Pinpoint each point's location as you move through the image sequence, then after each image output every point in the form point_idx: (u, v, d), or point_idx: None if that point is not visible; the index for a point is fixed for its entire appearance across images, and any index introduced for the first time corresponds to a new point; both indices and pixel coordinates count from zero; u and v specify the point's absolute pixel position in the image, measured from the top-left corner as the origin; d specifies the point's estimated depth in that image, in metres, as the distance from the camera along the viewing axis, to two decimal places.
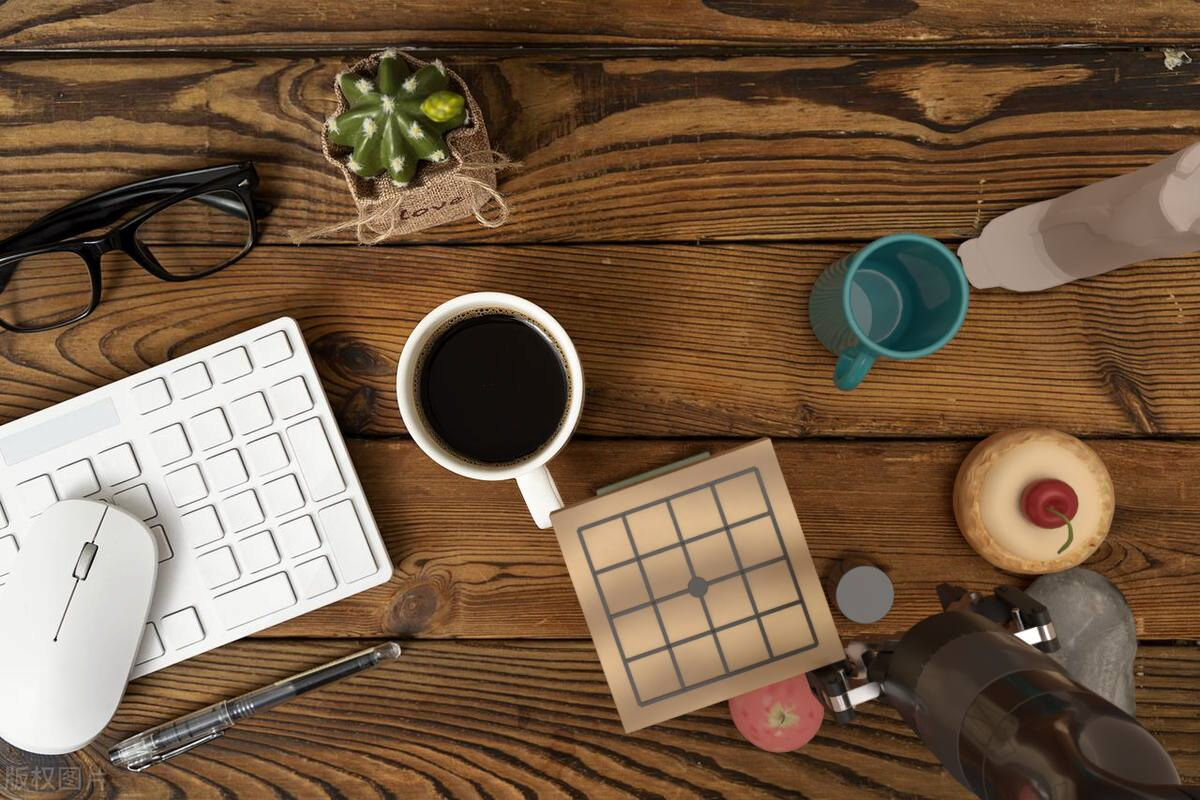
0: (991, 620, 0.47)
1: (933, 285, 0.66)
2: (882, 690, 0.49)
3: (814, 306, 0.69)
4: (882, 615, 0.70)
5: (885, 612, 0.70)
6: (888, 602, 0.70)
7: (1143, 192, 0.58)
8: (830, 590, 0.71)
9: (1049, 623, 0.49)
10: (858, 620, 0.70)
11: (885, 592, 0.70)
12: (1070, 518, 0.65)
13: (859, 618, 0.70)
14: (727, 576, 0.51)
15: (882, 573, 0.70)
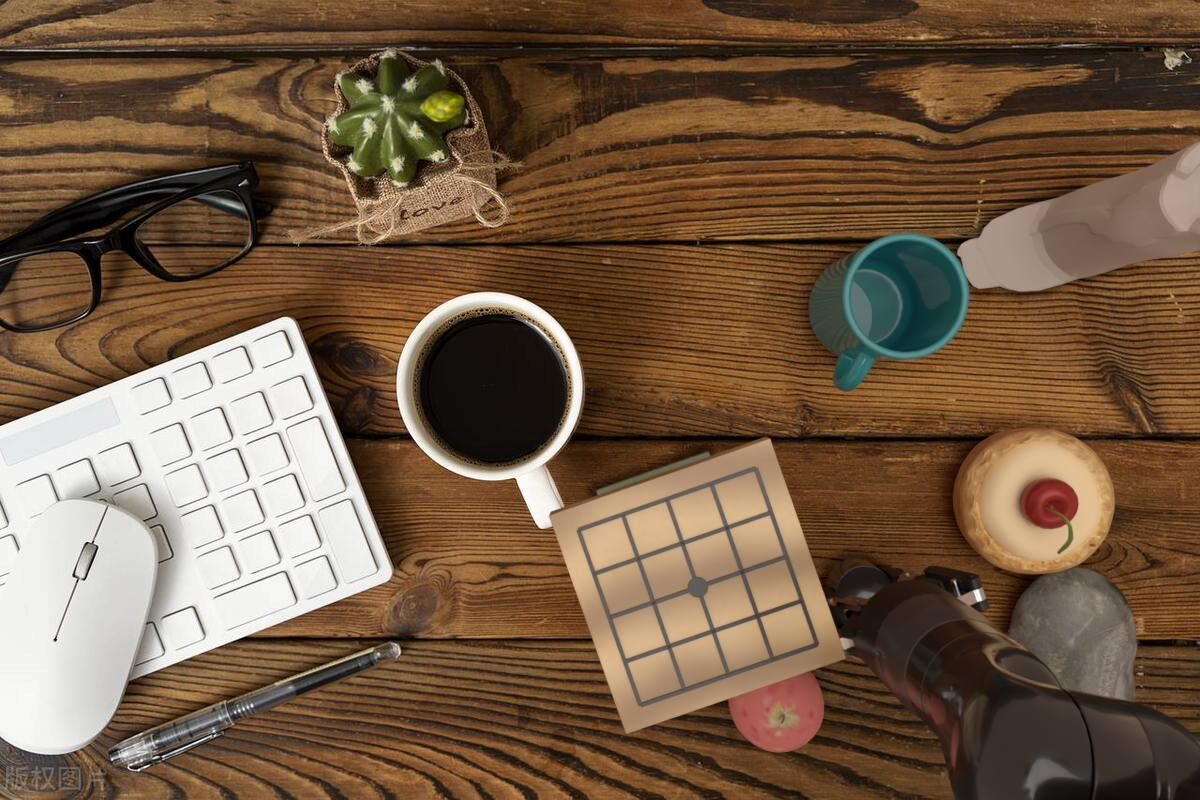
0: (939, 587, 0.58)
1: (933, 285, 0.66)
2: (853, 645, 0.61)
3: (814, 306, 0.69)
4: None
5: None
6: None
7: (1143, 192, 0.58)
8: None
9: (981, 586, 0.62)
10: None
11: None
12: (1070, 518, 0.65)
13: None
14: (727, 576, 0.51)
15: (882, 573, 0.70)
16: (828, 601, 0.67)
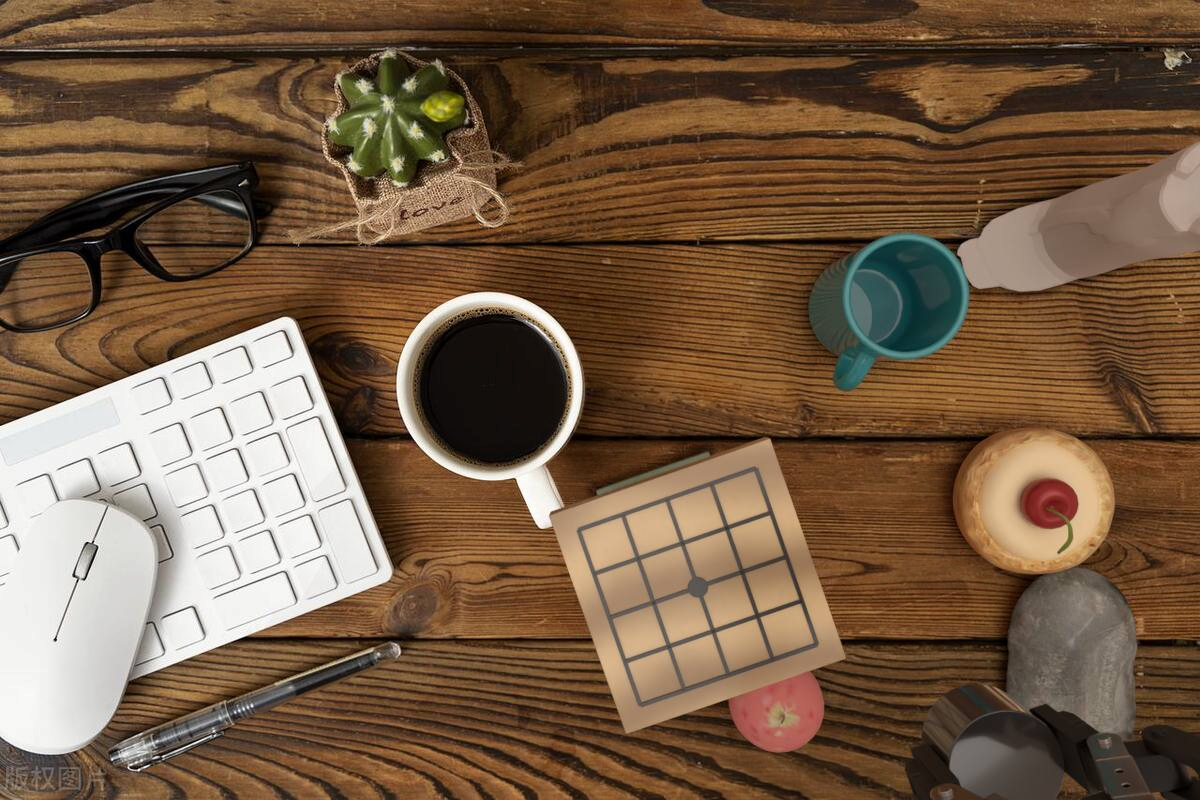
0: None
1: (933, 285, 0.66)
2: None
3: (814, 306, 0.69)
4: None
5: None
6: (1053, 784, 0.35)
7: (1143, 192, 0.58)
8: None
9: None
10: None
11: (1047, 764, 0.35)
12: (1070, 518, 0.65)
13: None
14: (727, 576, 0.51)
15: (1041, 726, 0.35)
16: (942, 795, 0.33)
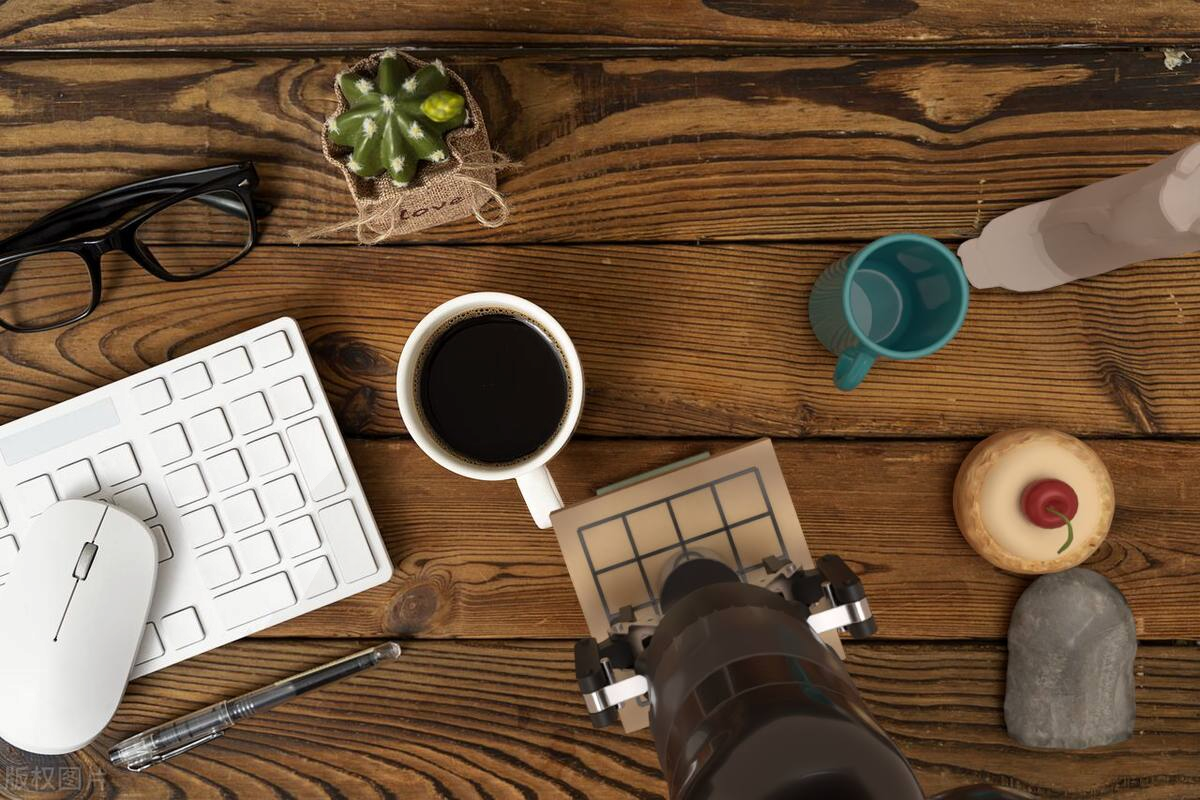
0: (775, 594, 0.36)
1: (933, 285, 0.66)
2: None
3: (814, 306, 0.69)
4: None
5: None
6: None
7: (1143, 192, 0.58)
8: (658, 593, 0.50)
9: (861, 599, 0.38)
10: None
11: None
12: (1070, 518, 0.65)
13: None
14: None
15: (727, 569, 0.48)
16: (613, 628, 0.44)
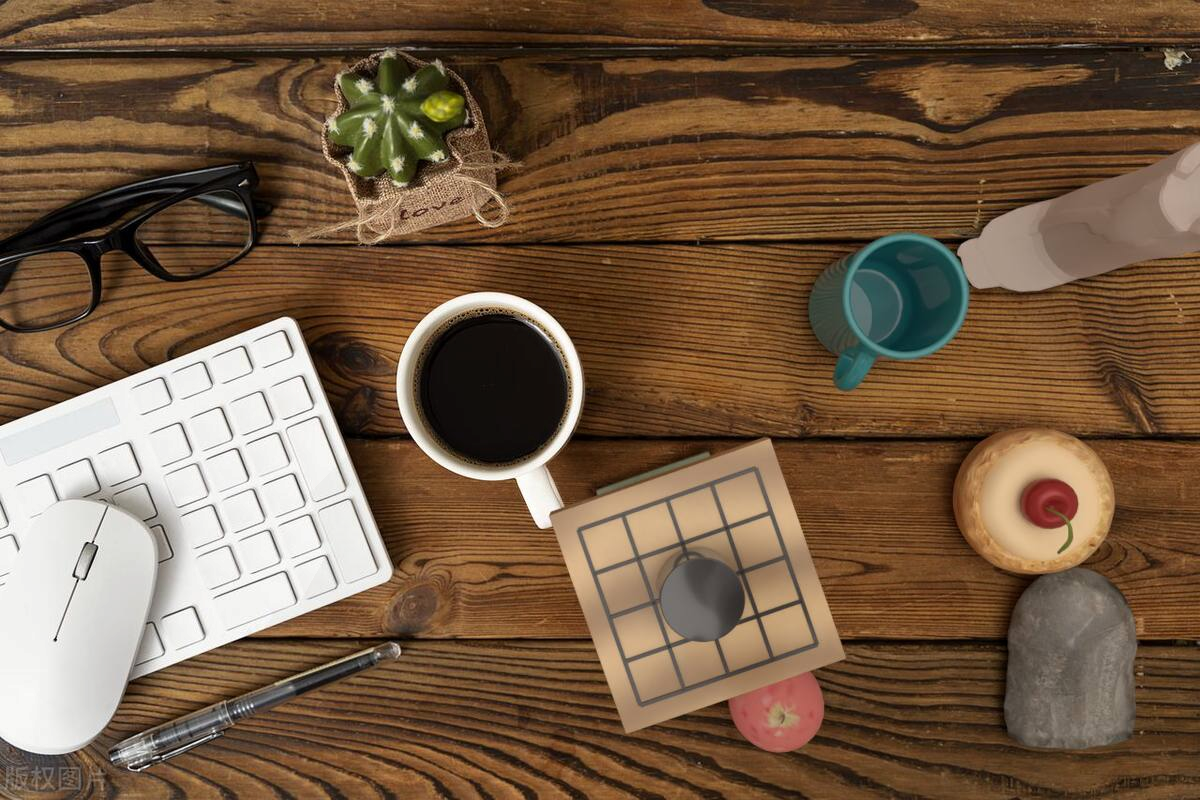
0: None
1: (933, 285, 0.66)
2: None
3: (814, 306, 0.69)
4: (728, 630, 0.48)
5: (732, 625, 0.48)
6: (736, 611, 0.48)
7: (1143, 192, 0.58)
8: (658, 593, 0.50)
9: None
10: (693, 637, 0.48)
11: (732, 597, 0.48)
12: (1070, 518, 0.65)
13: (694, 634, 0.48)
14: None
15: (727, 569, 0.48)
16: None
